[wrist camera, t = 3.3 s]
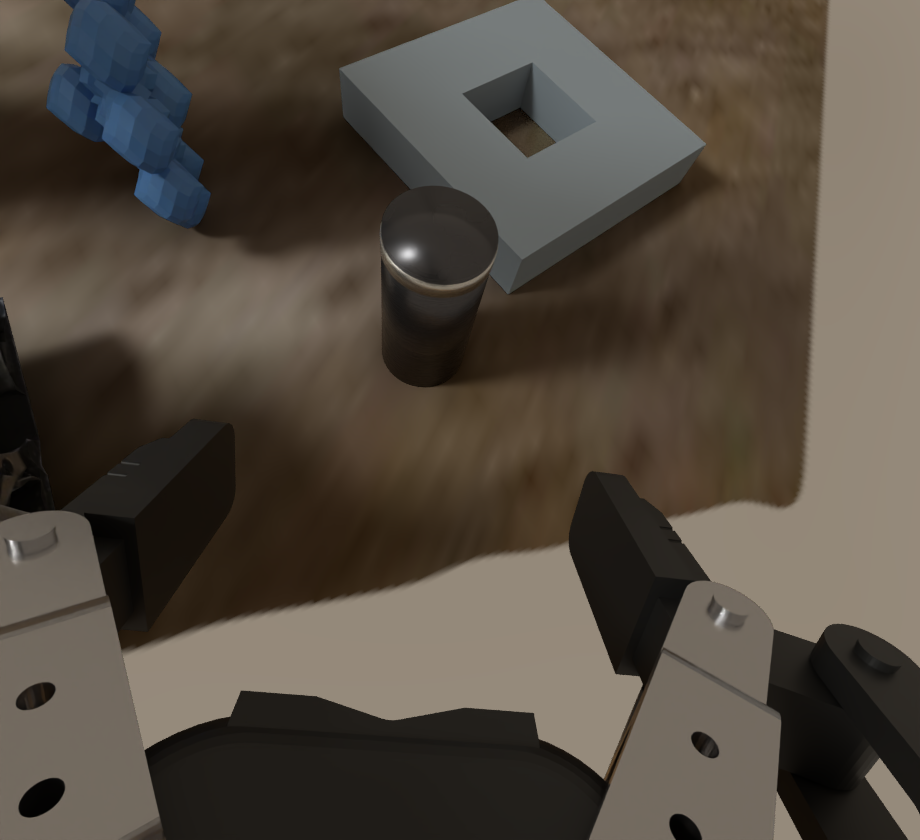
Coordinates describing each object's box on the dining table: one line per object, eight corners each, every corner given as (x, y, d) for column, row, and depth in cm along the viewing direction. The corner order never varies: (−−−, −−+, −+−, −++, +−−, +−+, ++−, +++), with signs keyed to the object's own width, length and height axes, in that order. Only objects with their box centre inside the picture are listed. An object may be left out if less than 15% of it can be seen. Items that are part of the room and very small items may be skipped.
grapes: (97, 129, 31) (-59, -132, 20) (209, 118, 33) (121, -129, 22) (120, 276, 28) (-53, 60, 17) (243, 255, 30) (159, 46, 19)
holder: (343, 117, 35) (339, 68, 32) (524, 40, 41) (536, -7, 38) (508, 294, 31) (521, 259, 28) (679, 182, 37) (706, 144, 34)
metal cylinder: (364, 341, 29) (355, 215, 20) (429, 301, 30) (449, 168, 21) (415, 403, 28) (431, 302, 19) (479, 358, 29) (523, 245, 20)
